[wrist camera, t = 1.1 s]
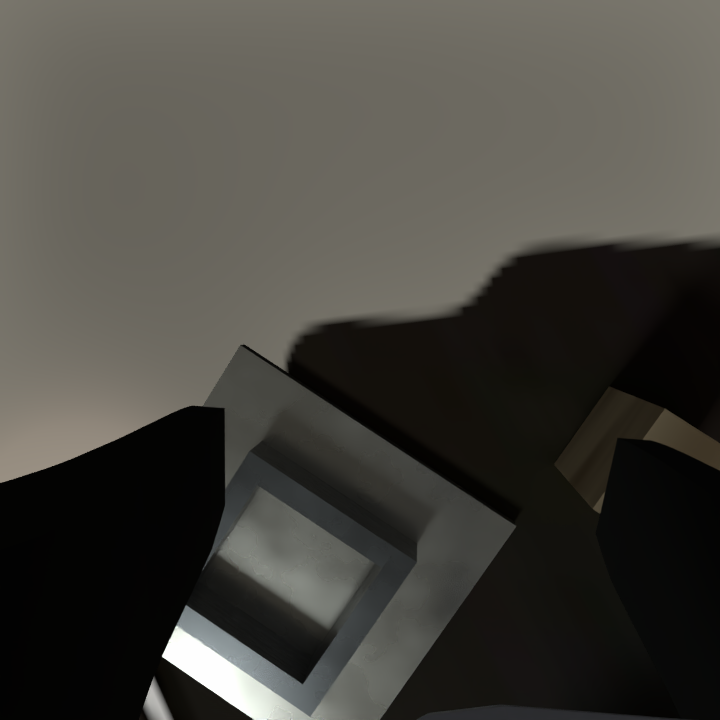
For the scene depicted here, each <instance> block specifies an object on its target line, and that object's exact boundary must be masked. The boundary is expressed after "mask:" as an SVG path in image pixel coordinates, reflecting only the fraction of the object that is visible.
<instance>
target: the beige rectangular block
mask: <svg viewBox="0 0 720 720" xmlns="http://www.w3.org/2000/svg"><path fill="white" fill-rule="evenodd" d="M617 438H626V439H640V440H652V441H655V442H658V443H661V444H664V445H666V446H669V447H671V448H674V449H676V450H678V451H680V452H683V453H685V454H687V455H689V456H691V457H693V458H695V459H697V460H699V461H701V462H703V463H705V464H707V465H709V466H711V467H714V468H716V469H718V470H720V443H718V442H717V441H715V440H713V439H712V438H710V437H709V436H707V435H706V434H704V433H702V432H701V431H699V430H698V429H696V428H695V427H693V426H692V425H690V424H688V423H687V422H685V421H684V420H682V419H681V418H679V417H677V416H676V415H674V414H673V413H671V412H670V411H668V410H667V409H665V408H662V407H660V406H657V405H655V404H652V403H650V402H647V401H645V400H642V399H640V398H637V397H635V396H632V395H630V394H627V393H625V392H622V391H620V390H617V389H614V388H612V387H608V389H607V390H606V391H605V393H604V394H603V396H602V397H601V398H600V400H599V401H598V403H597V404H596V406H595V407H594V408H593V410H592V411H591V413H590V414H589V415H588V417H587V418H586V420H585V421H584V423H583V424H582V425H581V427H580V428H579V430H578V431H577V432H576V434H575V435H574V437H573V438H572V440H571V441H570V442H569V444H568V445H567V447H566V448H565V449H564V451H563V452H562V454H561V455H560V457H559V458H558V459H557V461H556V462H555V464H554V465H555V466H556V467H557V468H558V469H559V471H560V472H561V473H562V474H563V475H564V476H565V478H566V479H567V480H568V481H569V482H570V483H571V484H572V486H573V487H574V488H575V489H576V490H577V491H578V492H579V494H580V495H581V496H582V497H583V498H584V499H585V501H586V502H587V503H588V504H589V505H590V506H591V507H592V509H594V510H595V511H597V512H598V513H601V508H602V504H603V499H604V495H605V491H606V486H607V482H608V477H609V473H610V469H611V464H612V460H613V455H614V451H615V447H616V442H617Z"/></svg>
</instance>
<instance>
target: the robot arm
mask: <svg viewBox="0 0 720 720" xmlns="http://www.w3.org/2000/svg"><path fill="white" fill-rule="evenodd" d="M224 508H225V408H216V407H203V406H189V407H186V408H183V409H180V410H178V411H176V412H174V413H171V414H169V415H167V416H165V417H163V418H161V419H159V420H157V421H155V422H153V423H151V424H149V425H146V426H144V427H142V428H140V429H138V430H136V431H134V432H132V433H130V434H128V435H126V436H124V437H121V438H119V439H117V440H115V441H113V442H110V443H108V444H106V445H103V446H101V447H99V448H96V449H94V450H92V451H89V452H87V453H85V454H82V455H80V456H78V457H75V458H73V459H71V460H68V461H65V462H63V463H60V464H58V465H55V466H52V467H49V468H46V469H44V470H40V471H37V472H34V473H31V474H28V475H25V476H22V477H19V478H16V479H13V480H9V481H6V482H2V483H0V720H139V717H140V714H141V711H142V708H143V705H144V702H145V700H146V697H147V694H148V691H149V688H150V685H151V682H152V679H153V677H154V674H155V672H156V670H157V667H158V665H159V662H160V660H161V658H162V655H163V653H164V651H165V649H166V647H167V644H168V642H169V640H170V638H171V636H172V634H173V632H174V630H175V627H176V625H177V623H178V621H179V619H180V617H181V615H182V613H183V611H184V608H185V606H186V604H187V602H188V600H189V598H190V596H191V594H192V592H193V589H194V587H195V585H196V583H197V581H198V579H199V577H200V574H201V572H202V570H203V568H204V566H205V564H206V561H207V559H208V557H209V555H210V552H211V550H212V547H213V544H214V541H215V538H216V535H217V531H218V528H219V525H220V521H221V518H222V514H223V511H224ZM596 536H597V539H598V542H599V546H600V549H601V552H602V555H603V558H604V561H605V564H606V567H607V570H608V572H609V575H610V578H611V581H612V583H613V585H614V587H615V589H616V591H617V593H618V595H619V597H620V599H621V601H622V603H623V605H624V607H625V609H626V611H627V613H628V615H629V617H630V619H631V621H632V623H633V625H634V627H635V629H636V631H637V632H638V634H639V636H640V638H641V640H642V642H643V644H644V646H645V648H646V650H647V652H648V654H649V656H650V658H651V659H652V661H653V663H654V665H655V667H656V669H657V671H658V673H659V675H660V677H661V679H662V681H663V683H664V685H665V686H666V688H667V690H668V692H669V694H670V696H671V699H672V701H673V703H674V705H675V707H676V709H677V711H678V714H679V716H680V718H681V719H676V718H663V717H651V716H638V715H625V714H613V713H600V712H588V711H575V710H563V709H550V708H537V707H525V706H512V705H493V706H484V707H476V708H468V709H459V710H451V711H442V712H434V713H428V714H426V715H424V716H422V717H421V718H419V719H417V720H720V470H718V469H716V468H714V467H711V466H709V465H707V464H705V463H703V462H701V461H699V460H697V459H695V458H693V457H691V456H689V455H687V454H685V453H683V452H680V451H678V450H676V449H674V448H671V447H669V446H666V445H664V444H661V443H658V442H655V441H652V440H640V439H626V438H617V442H616V447H615V451H614V455H613V460H612V464H611V469H610V473H609V477H608V482H607V486H606V491H605V495H604V499H603V504H602V508H601V513H600V517H599V521H598V526H597V530H596Z"/></svg>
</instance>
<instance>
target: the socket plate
mask: <svg viewBox="0 0 720 720" xmlns="http://www.w3.org/2000/svg"><path fill="white" fill-rule="evenodd" d="M203 407H216V408H225V508H224V511H223V514H222V518H221V521H220V525H219V528H218V531H217V535H216V538H215V541H214V544H213V547H212V550H211V552H210V555H209V557H208V559H207V561H206V564H205V566H204V568H203V570H202V572H201V574H200V577H199V579H198V581H197V583H196V585H195V587H194V589H193V592H192V594H191V596H190V598H189V600H188V602H187V604H186V606H185V608H184V611H183V613H182V615H181V617H180V619H179V621H178V623H177V625H176V627H175V630H174V632H173V634H172V636H171V638H170V640H169V642H168V644H167V647H166V649H165V651H164V653H163V655H162V657H164V658H165V659H166V660H168V661H169V662H171V663H172V664H174V665H175V666H177V667H178V668H180V669H181V670H183V671H184V672H185V673H187V674H188V675H190V676H191V677H193V678H194V679H196V680H197V681H199V682H200V683H201V684H203V685H204V686H206V687H207V688H209V689H210V690H212V691H213V692H215V693H216V694H218V695H219V696H220V697H222V698H223V699H225V700H226V701H228V702H229V703H231V704H232V705H234V706H235V707H237V708H238V709H239V710H241V711H242V712H244V713H245V714H247V715H248V716H250V717H251V718H253V719H254V720H380V718H381V717H382V716H383V714H384V713H385V711H386V710H387V709H388V707H389V706H390V704H391V703H392V701H393V700H394V699H395V697H396V696H397V694H398V693H399V692H400V690H401V689H402V687H403V686H404V684H405V683H406V682H407V680H408V679H409V677H410V676H411V675H412V673H413V672H414V670H415V669H416V668H417V666H418V665H419V663H420V662H421V660H422V659H423V658H424V656H425V655H426V653H427V652H428V651H429V649H430V648H431V646H432V645H433V643H434V642H435V641H436V639H437V638H438V636H439V635H440V634H441V632H442V631H443V629H444V628H445V626H446V625H447V624H448V622H449V621H450V619H451V618H452V617H453V615H454V614H455V612H456V611H457V609H458V608H459V607H460V605H461V604H462V602H463V601H464V600H465V598H466V597H467V595H468V594H469V593H470V591H471V590H472V588H473V587H474V585H475V584H476V583H477V581H478V580H479V578H480V577H481V576H482V574H483V573H484V571H485V570H486V568H487V567H488V566H489V564H490V563H491V561H492V560H493V559H494V557H495V556H496V554H497V553H498V551H499V550H500V549H501V547H502V546H503V544H504V543H505V542H506V540H507V539H508V537H509V536H510V534H511V533H512V532H513V530H514V529H515V527H516V524H515V522H514V521H513V520H511V519H510V518H508V517H507V516H505V515H504V514H502V513H501V512H499V511H498V510H496V509H494V508H493V507H491V506H490V505H488V504H487V503H485V502H484V501H482V500H481V499H479V498H478V497H476V496H475V495H473V494H472V493H470V492H469V491H467V490H466V489H464V488H462V487H461V486H459V485H458V484H456V483H455V482H453V481H452V480H450V479H449V478H447V477H446V476H444V475H443V474H441V473H440V472H438V471H437V470H435V469H433V468H432V467H430V466H429V465H427V464H426V463H424V462H423V461H421V460H420V459H418V458H417V457H415V456H414V455H412V454H411V453H409V452H408V451H406V450H405V449H403V448H401V447H400V446H398V445H397V444H395V443H394V442H392V441H391V440H389V439H388V438H386V437H385V436H383V435H382V434H380V433H379V432H377V431H376V430H374V429H372V428H371V427H369V426H368V425H366V424H365V423H363V422H362V421H360V420H359V419H357V418H356V417H354V416H353V415H351V414H350V413H348V412H347V411H345V410H344V409H342V408H340V407H339V406H337V405H336V404H334V403H333V402H331V401H330V400H328V399H327V398H325V397H324V396H322V395H321V394H319V393H318V392H316V391H315V390H313V389H311V388H310V387H308V386H307V385H305V384H304V383H302V382H301V381H299V380H298V379H296V378H295V377H293V376H292V375H290V374H289V373H287V372H286V371H284V370H283V369H281V368H279V367H278V366H276V365H275V364H273V363H272V362H270V361H269V360H267V359H266V358H264V357H263V356H261V355H260V354H258V353H256V352H255V351H254V350H252V349H250V348H249V347H247V346H246V345H240V347H239V348H238V350H237V352H236V353H235V355H234V356H233V358H232V360H231V361H230V363H229V364H228V366H227V368H226V369H225V371H224V373H223V374H222V376H221V378H220V379H219V381H218V382H217V384H216V386H215V387H214V389H213V391H212V392H211V394H210V395H209V397H208V399H207V400H206V402H205V404H204V405H203Z"/></svg>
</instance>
